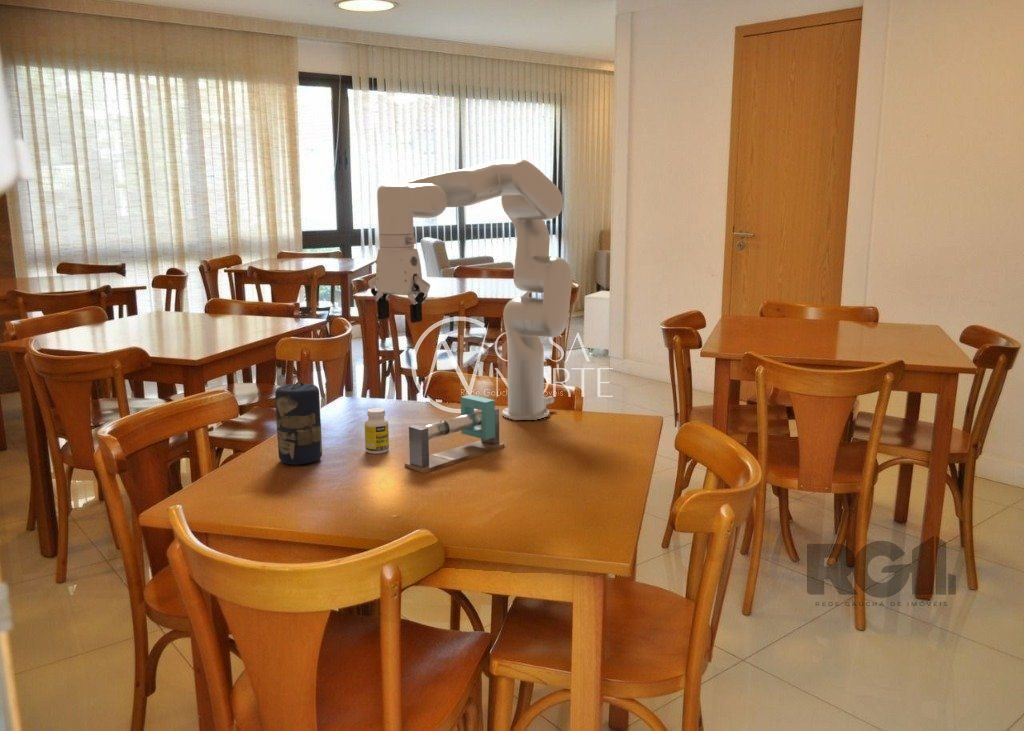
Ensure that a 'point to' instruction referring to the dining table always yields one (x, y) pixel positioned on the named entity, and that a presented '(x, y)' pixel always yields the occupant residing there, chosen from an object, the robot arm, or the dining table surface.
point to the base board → (456, 455)
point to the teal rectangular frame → (487, 416)
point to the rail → (423, 434)
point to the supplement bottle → (376, 431)
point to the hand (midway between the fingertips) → (399, 320)
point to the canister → (298, 423)
